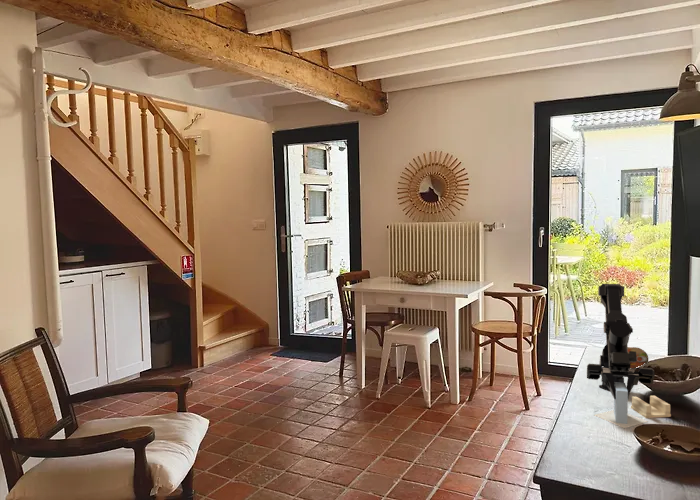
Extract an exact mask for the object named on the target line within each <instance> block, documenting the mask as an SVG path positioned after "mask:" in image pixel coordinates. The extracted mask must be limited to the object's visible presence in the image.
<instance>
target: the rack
mask: <svg viewBox="0 0 700 500" xmlns="http://www.w3.org/2000/svg"><path fill="white" fill-rule="evenodd" d="M630 409H632V410H633V411H635V412H636V413H637V414H639V415H641V416H642V417H643V418H645V419H649V418H650V419H651V418H669V417H672V414H671V404H670V403H668V402H666V401H665V400H663V399H661V398H659V397H658V396H656V395H650V396H649V403H648V402H646V401H645V400H643V399H641V398H640V397H638V396H631V405H630Z"/></svg>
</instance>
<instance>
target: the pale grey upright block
mask: <svg viewBox="0 0 700 500" xmlns="http://www.w3.org/2000/svg"><path fill="white" fill-rule="evenodd" d="M614 386H615V392H616V399H614V398H613V410H614V415H615V420H616V423H623V424H627V413H628V414H629V412H628V409H629V408H628V407H629V405H628V403H629V398H628V390H627V383H626V382H624V383H621V382H614Z"/></svg>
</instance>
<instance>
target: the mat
mask: <svg viewBox="0 0 700 500" xmlns="http://www.w3.org/2000/svg"><path fill="white" fill-rule="evenodd" d="M594 416H595V417H598V418H600V419H602V420H604V421H606V422H610V423H612V424H614V425H616V426H619V427H620V428H623V429H626V428H630V427H634V426H638V425H642V424H644V423H648V422H649V421H647V420H645V419H643V418H640V417H637V416H635V415H633V414H630V413H629V412H628V413H627V424H623V423H616V420H615V415H614V409H612V410H608V411H605V412H601V413H597V414H594Z"/></svg>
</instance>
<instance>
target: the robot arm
mask: <svg viewBox="0 0 700 500" xmlns="http://www.w3.org/2000/svg"><path fill="white" fill-rule="evenodd" d="M597 290H598V292H597V293H598V297H599V298H600V303H601V305H602V306H604V309H605V311H604V313H605V321H603V333H604V334H605V339H606V342H605V343H606V344H605V345H604V347H603V348H602V351H601V354H600V356H599V361H598V362H599V363H588V364H587V365H586V379H588V380H593V381H595V380H596V381H598V380H599V379H600V378H601V384H599V385H598V387H599V388H601V389H603V390H606V391H609V392H610V394H611V395H612V398H613V400H614V399H616V392H615V386H614V382H621V383H625V378H627V381H626V387H627V390H628V399H630V398H629V397H630V394H631V391H632V390H633V388H634V386H638V385H639V384H642V385H643V384H644V385H652V384H654V380H655V376H656V375H655V370H654V369H653V368H651V367H644V368H642V367H639V369H638V371H635V370H631V369H630V367H631V366H630V362H636V361H637V356H636V351H630V352H629V353H628V347H629V346H628V344H629V340H630V335H632V333H634V331H633V330H634V328H633V327H632V326H631V324H630V323H629V322H628V318H627V316H626V315H625V314H624V313H623V311H622V309H623V308H622V300H623V298H624V297H625V286H623V285H621V284H620V283H601V285H598V289H597ZM638 383H639V384H638Z"/></svg>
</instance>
